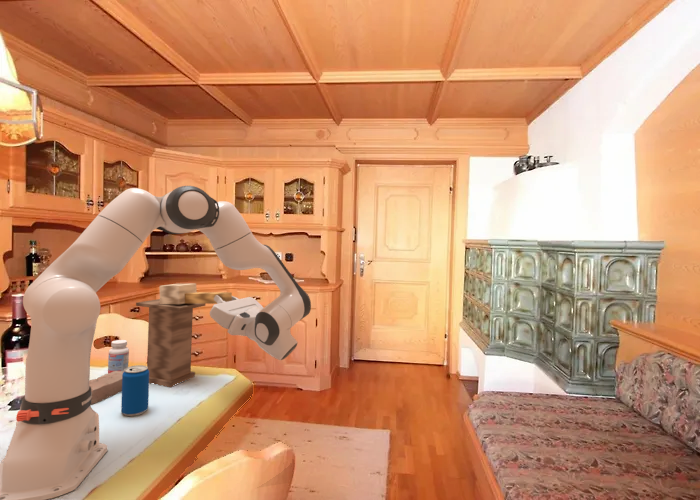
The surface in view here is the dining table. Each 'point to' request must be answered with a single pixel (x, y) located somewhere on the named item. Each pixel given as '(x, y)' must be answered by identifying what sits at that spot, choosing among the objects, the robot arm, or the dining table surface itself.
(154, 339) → the walnut shelf post
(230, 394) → the dining table surface
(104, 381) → the brick
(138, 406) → the beverage can
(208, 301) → the beech mallet
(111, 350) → the pill bottle
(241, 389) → the dining table surface
